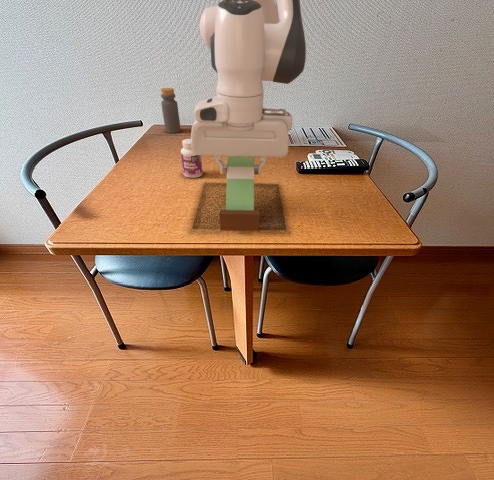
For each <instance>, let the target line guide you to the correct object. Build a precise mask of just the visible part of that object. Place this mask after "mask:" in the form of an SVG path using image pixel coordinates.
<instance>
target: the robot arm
mask: <svg viewBox="0 0 494 480" xmlns="http://www.w3.org/2000/svg"><path fill="white" fill-rule="evenodd" d="M200 15H201V16H200V20H199V33H200V38H201V39H202V41H203V43H204V45H206V47H208V49H210V59H211V61H210V62H211V68H212V69H213V70H214V71H215V72H216V74H217V84H216V95H214V96H211V97H208V98H205V99H202V100H199V101H198V102H197V103H196V104H195V107H194V108H193V117H194V121H193V123H192V125H191V130H190V131H191V132H190V133H191V134H190V139H191V148H192V151H193V152H194V153H195V154H196V155H201V156H213V157H214V161H215V163H216V164H217V166H218V167H219V170H220V171H219V172H220V175H227V163H224V161H223V160H222V157H224V156H225V157H228V156H229V157H257V158H258V157H259V162H258V163H257V164H255V163H254V176H255V175H258V176H259V175H262V174H261V173H262V168H263V167H264V165H265V164H266V162H267V158H285V157H286V156H287V155H288V153H289V148H290V147H289V146H290V145H289V144H290V143H289V141H290V140H289V132H290V131H291V130H292V128H293V127H292V126H293V116H292V114H291V113H290V112H289V111H287V110H286V109H284V108H279V109H278V108H277V109H276V108H267V107H265V108H264V94H265V93H264V92H265V91H264V84H263V82H272V83H277V84H285V85H289V84H291V83H292V82H293V81H295V80H296V79H297V78H298V77H300V76H301V74H302V73H303V72H304V70H305V66H306V61H307V54H308V53H307V50H308V49H307V42H306V37H305V30H304V24H303V17H302V11H301V1H300V0H276V2H275V0H221V1H220V2H218V3H217V5H212V6H207V7H205V9H204V10H203V11H202V13H201V14H200Z"/></svg>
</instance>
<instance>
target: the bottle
mask: <svg viewBox="0 0 494 480" xmlns="http://www.w3.org/2000/svg"><path fill="white" fill-rule="evenodd" d="M160 91H161V94H160V97H161V99H162V101H161V102H160V104H161V110H162V117H163V124H164V129H165V130H164V131H165V133H167V134H177V133H180V132H181V130H182V129H181V121H180V112H179V105H178V101H177V100H175V98H176V94H175V88H173V87H163V88H162V87H161V88H160Z"/></svg>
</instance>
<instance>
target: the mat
mask: <svg viewBox="0 0 494 480" xmlns="http://www.w3.org/2000/svg"><path fill="white" fill-rule="evenodd" d="M219 187H220V189H221V190H218V188H219ZM254 189H257V190H254V210H226V190H227V183H222V182H218V183H217V182H214V183H210V182H204V185H203V188H202V192H201V196H200V202H199V204H198V206H197V210H196V215H195V216H194V217H195V218H194V221H193V225H192V228H191V229H195V230H198V229H199V228H202V230H205V229H206V230H215V231H216V230H217V231H219V230H220V231H254V232H255V231H257V232H258V231H287V225H286V224H287V223H286V220H285V213H284V209H283V203H282V196H281V191H280V186H279V183H261V184H260V186H259V184H258V183H256V182H254ZM264 195H265V196H264Z"/></svg>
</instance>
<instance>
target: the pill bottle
mask: <svg viewBox="0 0 494 480" xmlns="http://www.w3.org/2000/svg"><path fill="white" fill-rule="evenodd" d="M181 144H182V148H181V149H180V157H181V165H182V174H183V176H184V177H186V178H188V179H197V178H200V177H201V176H202V175H203V165H202V162H203V161H202V155H196V154H195V153H194V152H193V151H192V148H191V138H185V139H182V141H181Z"/></svg>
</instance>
